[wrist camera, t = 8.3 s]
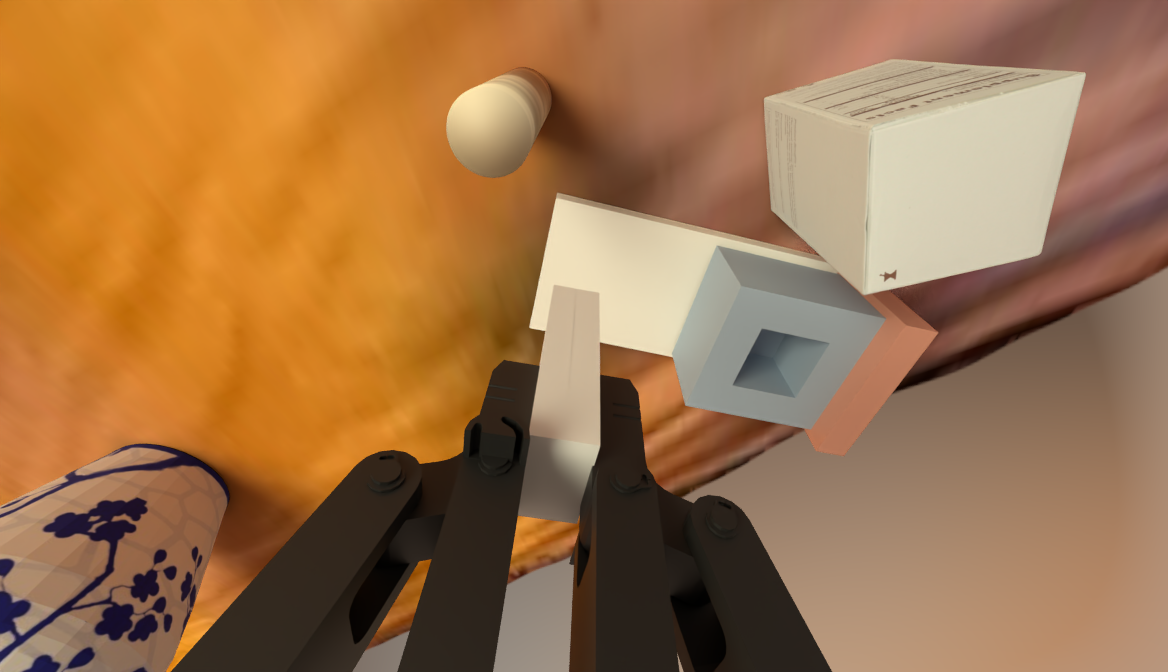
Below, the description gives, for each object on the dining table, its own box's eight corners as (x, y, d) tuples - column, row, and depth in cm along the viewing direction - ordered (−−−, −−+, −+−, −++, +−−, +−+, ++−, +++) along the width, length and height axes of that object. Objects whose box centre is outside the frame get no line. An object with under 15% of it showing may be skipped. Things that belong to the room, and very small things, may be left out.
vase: (206, 401, 41) (-410, 991, 16) (304, 533, 51) (25, 1021, 26) (11, 420, 42) (-841, 989, 17) (143, 546, 53) (-268, 1018, 27)
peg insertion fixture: (557, 192, 31) (547, 243, 23) (859, 265, 33) (938, 332, 26) (531, 319, 36) (515, 395, 29) (793, 373, 39) (843, 456, 31)
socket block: (716, 245, 31) (741, 286, 26) (839, 274, 32) (886, 319, 27) (671, 353, 36) (685, 405, 31) (780, 375, 37) (810, 429, 32)
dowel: (501, 60, 27) (449, 76, 17) (556, 75, 27) (538, 99, 17) (494, 119, 29) (443, 166, 18) (546, 133, 29) (523, 186, 19)
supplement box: (884, 182, 30) (1044, 262, 20) (768, 211, 32) (859, 302, 21) (894, 54, 27) (1099, 67, 16) (760, 92, 28) (868, 128, 17)
